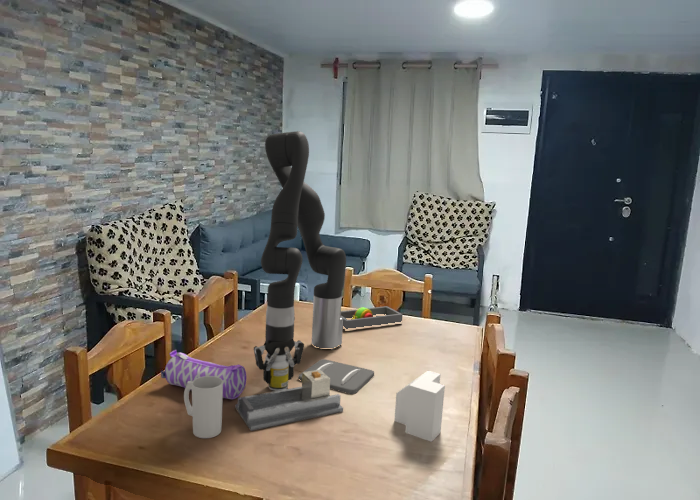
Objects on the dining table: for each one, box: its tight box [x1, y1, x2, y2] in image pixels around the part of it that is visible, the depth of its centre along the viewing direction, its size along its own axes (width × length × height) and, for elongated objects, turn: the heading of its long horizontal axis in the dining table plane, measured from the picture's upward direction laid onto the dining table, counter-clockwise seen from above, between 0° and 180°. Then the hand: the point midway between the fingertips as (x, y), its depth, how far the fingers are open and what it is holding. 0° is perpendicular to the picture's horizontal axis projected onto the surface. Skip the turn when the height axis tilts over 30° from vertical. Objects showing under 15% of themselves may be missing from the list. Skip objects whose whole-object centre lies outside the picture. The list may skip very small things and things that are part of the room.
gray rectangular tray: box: [341, 305, 403, 329], centre depth 205 cm, size 24×11×4 cm, turn 119°
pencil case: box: [160, 349, 247, 400], centre depth 143 cm, size 22×9×9 cm, turn 68°
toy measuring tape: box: [352, 306, 385, 319], centre depth 206 cm, size 6×19×7 cm, turn 133°
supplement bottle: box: [268, 354, 289, 392], centre depth 147 cm, size 5×5×10 cm
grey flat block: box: [297, 358, 375, 395], centre depth 156 cm, size 18×3×15 cm
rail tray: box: [235, 370, 344, 432], centre depth 135 cm, size 24×12×9 cm, turn 119°
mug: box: [183, 376, 224, 439], centre depth 123 cm, size 10×7×12 cm, turn 64°
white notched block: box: [394, 370, 446, 442], centre depth 131 cm, size 11×11×12 cm
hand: (278, 380), depth 148 cm, fingers closed on supplement bottle, 5 cm apart
